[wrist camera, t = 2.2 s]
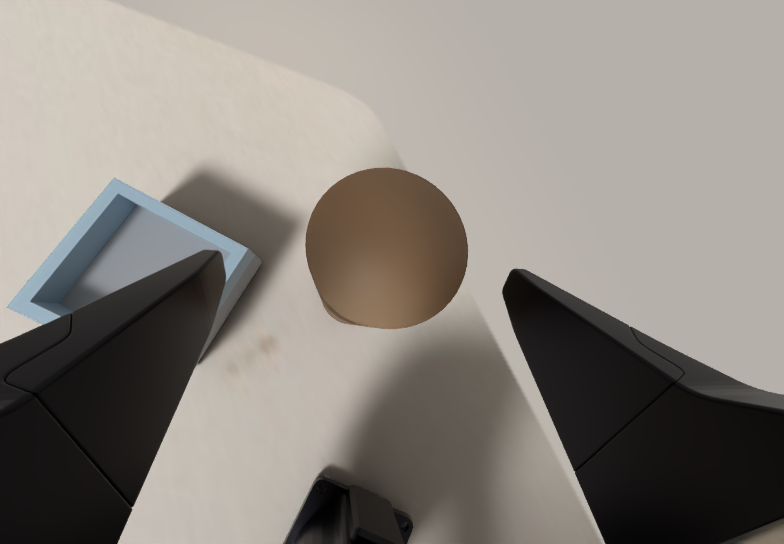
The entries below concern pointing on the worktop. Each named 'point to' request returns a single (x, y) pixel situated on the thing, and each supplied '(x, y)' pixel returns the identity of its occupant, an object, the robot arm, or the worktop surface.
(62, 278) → the light blue open box
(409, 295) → the pillar
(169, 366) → the robot arm
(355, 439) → the worktop surface
